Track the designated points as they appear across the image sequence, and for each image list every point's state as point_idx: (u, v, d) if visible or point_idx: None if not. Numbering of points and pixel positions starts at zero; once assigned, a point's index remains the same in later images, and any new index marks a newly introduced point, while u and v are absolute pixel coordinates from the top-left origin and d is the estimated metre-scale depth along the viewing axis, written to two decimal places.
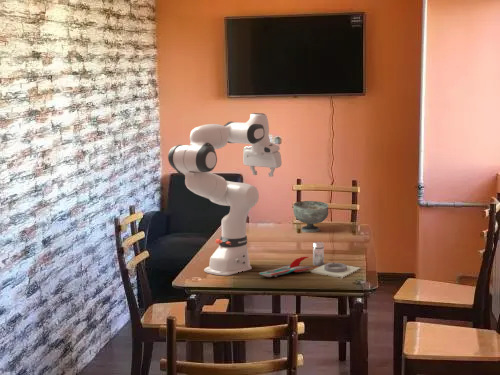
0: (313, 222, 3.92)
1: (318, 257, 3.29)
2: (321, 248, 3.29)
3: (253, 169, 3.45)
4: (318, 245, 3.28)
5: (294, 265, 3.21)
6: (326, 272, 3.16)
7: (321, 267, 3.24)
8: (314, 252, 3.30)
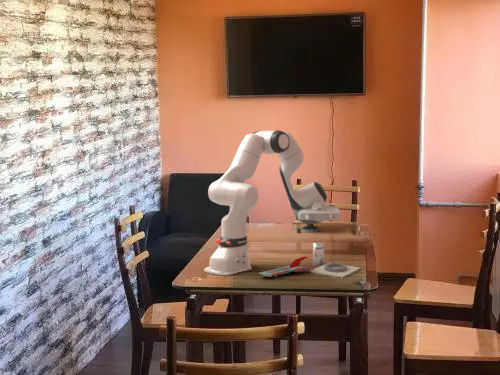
0: (313, 222, 3.92)
1: (318, 257, 3.29)
2: (321, 248, 3.29)
3: None
4: (318, 245, 3.28)
5: (294, 265, 3.21)
6: (326, 272, 3.16)
7: (321, 267, 3.24)
8: (314, 252, 3.30)
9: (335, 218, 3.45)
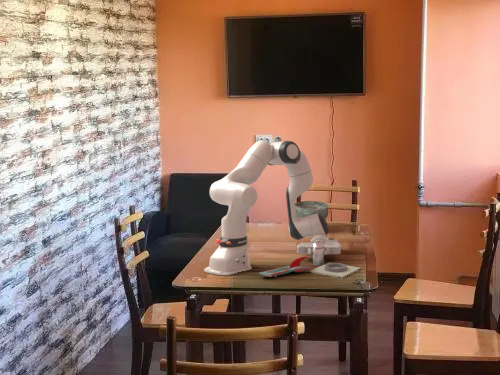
0: None
1: (318, 257, 3.29)
2: (321, 248, 3.29)
3: None
4: (318, 245, 3.28)
5: (294, 265, 3.21)
6: (326, 272, 3.16)
7: (321, 267, 3.24)
8: (314, 252, 3.30)
9: (335, 252, 3.34)
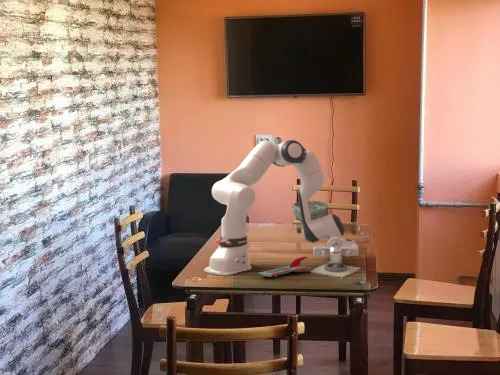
0: None
1: (336, 261, 3.18)
2: (339, 252, 3.18)
3: None
4: (336, 249, 3.17)
5: (294, 265, 3.21)
6: (326, 272, 3.16)
7: (321, 267, 3.24)
8: (331, 256, 3.19)
9: (352, 254, 3.23)
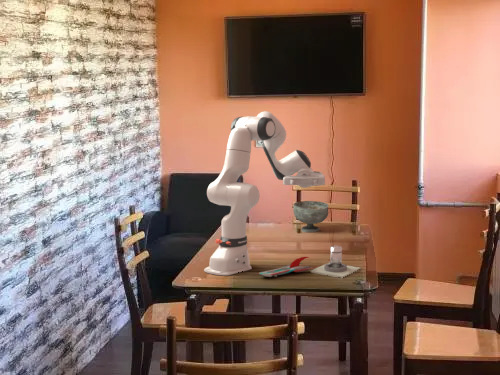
0: (313, 222, 3.92)
1: (336, 262, 3.18)
2: (339, 252, 3.18)
3: None
4: (336, 249, 3.17)
5: (294, 265, 3.21)
6: (326, 272, 3.16)
7: (321, 267, 3.24)
8: (331, 256, 3.19)
9: (319, 183, 3.47)
